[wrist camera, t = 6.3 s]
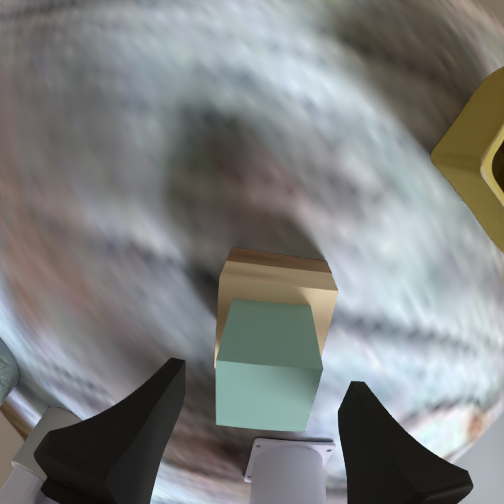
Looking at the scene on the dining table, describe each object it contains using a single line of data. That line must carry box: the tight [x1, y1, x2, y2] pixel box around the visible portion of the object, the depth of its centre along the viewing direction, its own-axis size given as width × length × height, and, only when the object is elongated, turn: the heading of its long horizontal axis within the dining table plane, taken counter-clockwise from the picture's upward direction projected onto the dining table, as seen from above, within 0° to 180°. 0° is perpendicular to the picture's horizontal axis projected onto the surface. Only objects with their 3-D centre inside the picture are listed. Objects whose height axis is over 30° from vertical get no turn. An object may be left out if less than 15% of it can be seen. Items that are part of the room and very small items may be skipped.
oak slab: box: [214, 261, 338, 368], centre depth 17 cm, size 6×6×2 cm
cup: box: [11, 407, 83, 482], centre depth 24 cm, size 8×8×10 cm
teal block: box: [216, 299, 323, 432], centre depth 14 cm, size 4×4×5 cm
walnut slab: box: [227, 247, 332, 274], centre depth 19 cm, size 6×6×2 cm
